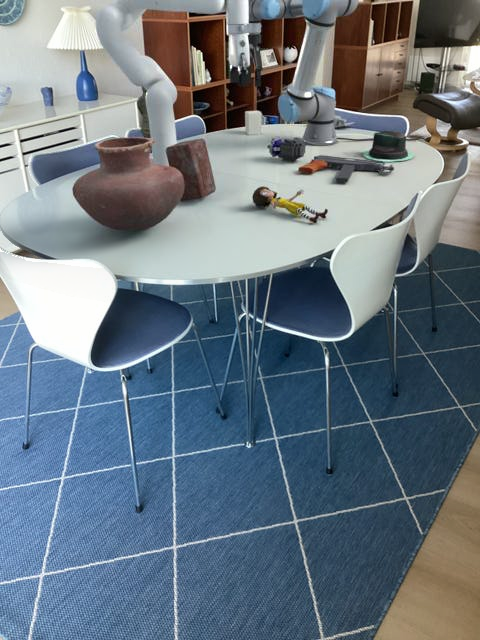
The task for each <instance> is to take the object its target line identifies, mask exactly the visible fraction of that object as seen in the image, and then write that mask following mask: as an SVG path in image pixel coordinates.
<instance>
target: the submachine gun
mask: <svg viewBox="0 0 480 640" xmlns="http://www.w3.org/2000/svg"><path fill="white" fill-rule="evenodd" d="M323 169H328V170H339V172H338V174H337V175H336V177H335V182H337V183H348V182H349V181H350V178H351V177H352V175H353V173H354V171H372V172H375V171H377V172H379V173H378V175H379V176H388V175H389V174H391V173H392V172H393V171H395V167H394V165H393V164H390V165H389V166H387V165H386V162H385V161H377V160H371V159H362V158H361V159H359V158H351V157H350V158H349V157H343V156H342V157H341V156H332V155H322V154H321V155H319V154H318V155H314V156H313V158H312V159H311V160H310V162H309V163H307V164H304V165H301V166H299V167H298V172H299V173H302V174H304V175H305V174H306V175H312V174H314V173H315V172H317V171H319V170H323ZM384 171H388V172H386V173H383V172H384Z"/></svg>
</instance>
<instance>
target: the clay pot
mask: <svg viewBox="0 0 480 640" xmlns="http://www.w3.org/2000/svg"><path fill="white" fill-rule="evenodd" d="M153 143H154V140H153V139H151V138H144V137H142V136H141V137H140V136H131V137H124V136H123V137H122V136H121V137H112V138H107V139H102V140H99V141H98V142H96V143H95V144H94V147H93V148H94V150H96V151H97V153H98V156H99V168H96V169H93V170H90V171H87V172H86V173H85V174H83V175H81V176H80V177H79V178H77V179H76V181H75V182H74V184H73V186H72V195H73V197H74V199H75V201H76V202H77V204H78V205H79V206H80V207H81V209H82V210H83V211H84V212H85V213H86V214H87V215H88V216H89V217H90V218H91V219H93V220H94V222H97V223H99V224H100V225H102V226H104V227H105V228H107V229H110V230H115V231H119V232H121V231H122V232H130V231H141V230H147V229H151V228H154V227H155V226H157V225H159V224H160V223H162V222H163V221H164V220H166V219H167V218H168V217H169V216H170V215H171V213H173V211H174V210H175V208H176V207H177V206H178V204H179V203H180V202H181V201H180V200H181V198H182V196H183V193H184V188H185V184H184V178H183V175H182V173H181V172H180V171H179V170H177V169H176V168H174V167H170V166H164V165H158V164H154V163H152V162H151V160H150V158H151V151H150V148H151V146H152V144H153Z"/></svg>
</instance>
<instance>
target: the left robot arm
mask: <svg viewBox="0 0 480 640" xmlns="http://www.w3.org/2000/svg"><path fill="white" fill-rule="evenodd" d="M147 10H150V11H151V10H153V11H162V12H163V11H164V12H173V13H180V12H183V13H194V14H195V13H196V14H205V15H216V14H221V13H225V17H226V18H225V21H226V22H225V23H226V36H228V63H229V81H230V84H238V85H237V86H238V87H239V88H240V87H241V88H242V87H247V86H249V83H248V74H247V73H248V71H247V69H248V67H249V65H250V56H249V42H248V35H249V24H248V23H249V1H248V0H117V1H116V2H115V3H108V4H105V5H103V6H102V7H101V8H100V9H99V11H97V14H96V17H95V22H94V30H95V35H96V38H97V40H98V42H99V44H100V45H101V47H102V49H103V50H105V52H106V54H107V55H108V56H109V57H110V58H111V59H112V61H113V62H114V63H115V65H116V66H117V67H118V68H119V69H120V71H121V72H122V73H123V74H124V75H125V77H126V78H127V79H128V81H130V83H131V84H133V85H134V86H136V87H141V86H143V87H144V88H145V89H146V90H147V93H146V107H147V112H148V118H149V126H150V135H151V139H153V140H154V143H153V144H152V151H151V155H152V158H151V157H150V160H151V162H152V163H154V164H158V165H164V166H169V163H168V159H167V155H166V148H167V147H170V146H172V145H175V144H177V143H178V141H177V129H176V118H175V112H174V104H175V102H176V101H177V98H178V90H177V88H176V86H175V84H174V83H173V81H172V80H171V79H170V78H169V76H168V75H167V74H166V73H165V72H164V71H163V69H162V67H160V65H158V63H157V62H156V61H155V60H154V59H153V58H152V57H150V56H148V55H145V54H143V55H141V54H140V52H138V50H137V49H136V48H135V46H134V45H133V44H132V43H131V41H129V39H128V38H126V37H125V36H124V34H123V32H122V31H125V30H127V29H129V28H130V27H131V26H132V25H133V24H134V23H135V22H137V20H138V19H139V18H140V17H141V16H142V15H143V14H144V13H145V12H146V11H147Z"/></svg>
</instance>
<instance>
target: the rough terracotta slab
mask: <svg viewBox="0 0 480 640" xmlns="http://www.w3.org/2000/svg"><path fill="white" fill-rule="evenodd" d="M166 155H167V159H168V163H169V166H170V167H174V168H176V169H177V170H179V171H180V172H181V173H182V175H183V178H184V184H185V188H184V193H183V196H182V198H181V200H180V201H179V202H185V201H195V200H202V199H204V198H206V197H208V196H210V195H211V194H213V193H215V192H216V189H217V187H216V183H215V178H214V172H213V169H212V164H211V160H210V155H209V152H208V147H207V143H206V141H205V139H204V138H197V139H190V140H185V141H179V142H177V144H175V145H172V146H170V147H167V148H166Z"/></svg>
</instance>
